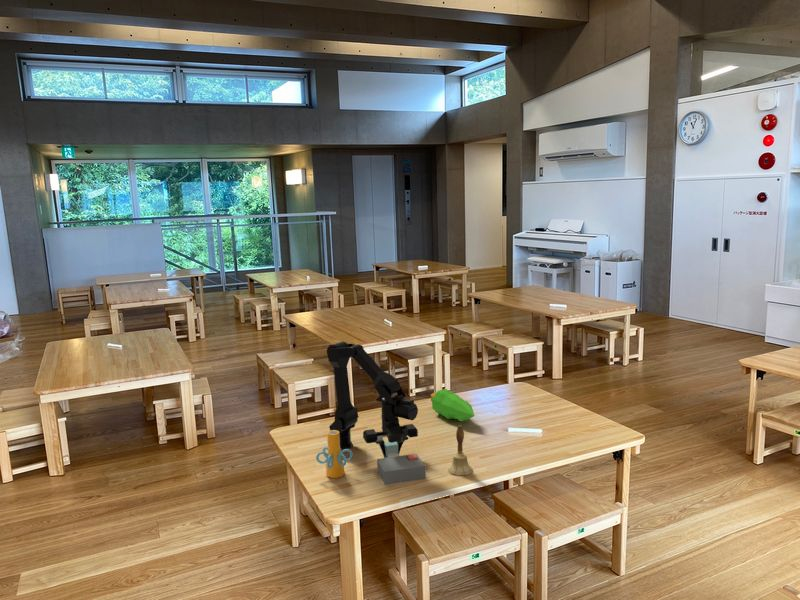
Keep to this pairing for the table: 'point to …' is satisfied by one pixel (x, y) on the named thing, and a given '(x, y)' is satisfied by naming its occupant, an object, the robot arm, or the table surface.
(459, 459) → the hand bell
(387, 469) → the housing
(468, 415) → the decorative tree
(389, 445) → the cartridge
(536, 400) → the table surface
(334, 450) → the orange vase with handles
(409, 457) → the plunger
